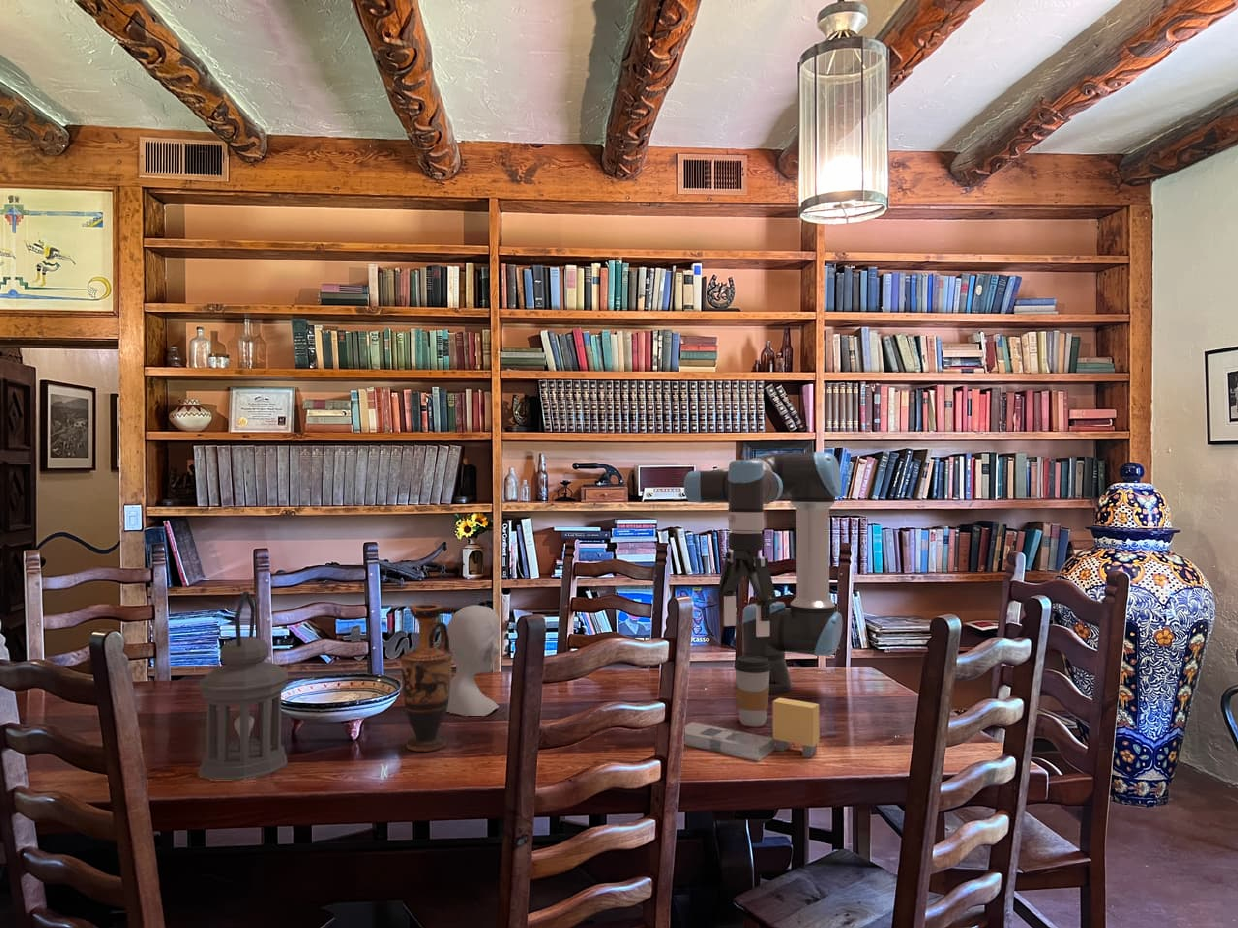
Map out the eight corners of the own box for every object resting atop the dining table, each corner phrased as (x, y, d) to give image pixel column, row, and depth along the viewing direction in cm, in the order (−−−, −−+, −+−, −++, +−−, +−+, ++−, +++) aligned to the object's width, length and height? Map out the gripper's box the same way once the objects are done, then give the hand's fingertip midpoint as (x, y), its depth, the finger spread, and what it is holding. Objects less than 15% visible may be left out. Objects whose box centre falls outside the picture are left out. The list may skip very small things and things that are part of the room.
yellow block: (772, 749, 170) (772, 701, 171) (779, 744, 173) (779, 697, 174) (813, 757, 165) (813, 708, 166) (819, 752, 168) (819, 704, 169)
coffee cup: (770, 729, 184) (770, 663, 184) (733, 726, 186) (733, 662, 186) (770, 718, 192) (770, 655, 193) (735, 716, 194) (735, 654, 194)
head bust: (529, 701, 207) (529, 604, 208) (478, 720, 191) (478, 615, 191) (467, 689, 219) (467, 597, 219) (414, 706, 203) (414, 607, 203)
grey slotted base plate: (674, 742, 175) (674, 731, 175) (692, 733, 181) (691, 721, 181) (758, 760, 163) (758, 748, 163) (774, 749, 170) (774, 738, 170)
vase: (406, 757, 165) (407, 612, 166) (395, 742, 175) (396, 604, 175) (458, 749, 170) (458, 608, 171) (444, 735, 180) (445, 601, 180)
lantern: (284, 776, 155) (285, 595, 155) (187, 786, 150) (189, 599, 151) (293, 748, 171) (294, 584, 171) (206, 756, 166) (208, 587, 167)
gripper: (703, 529, 183) (703, 622, 182) (762, 535, 160) (761, 642, 159) (732, 528, 186) (731, 620, 185) (793, 535, 162) (793, 640, 162)
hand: (745, 630), depth 172 cm, fingers open, 13 cm apart
